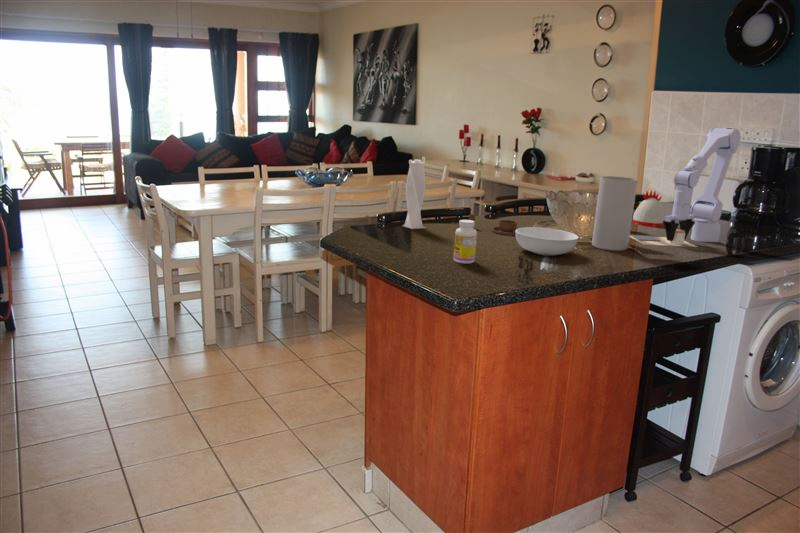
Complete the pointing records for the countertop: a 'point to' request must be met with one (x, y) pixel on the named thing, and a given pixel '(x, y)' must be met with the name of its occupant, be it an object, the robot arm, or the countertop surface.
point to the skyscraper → (415, 194)
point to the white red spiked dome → (649, 211)
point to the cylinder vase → (614, 213)
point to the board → (663, 242)
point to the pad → (645, 238)
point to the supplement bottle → (465, 242)
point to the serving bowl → (546, 240)
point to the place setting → (501, 226)
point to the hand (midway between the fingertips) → (676, 239)
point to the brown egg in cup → (678, 237)
